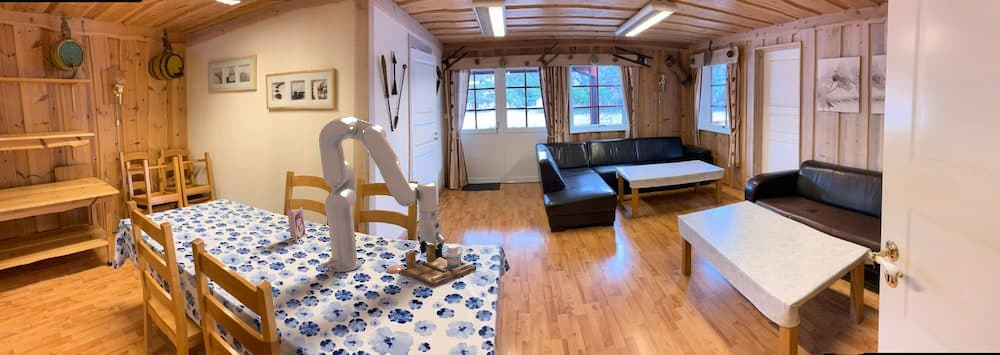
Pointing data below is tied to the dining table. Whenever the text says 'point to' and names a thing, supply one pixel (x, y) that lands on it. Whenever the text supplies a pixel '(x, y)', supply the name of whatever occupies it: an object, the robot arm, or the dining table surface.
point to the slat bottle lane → (441, 260)
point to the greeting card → (296, 224)
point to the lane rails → (438, 274)
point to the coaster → (395, 269)
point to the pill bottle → (453, 257)
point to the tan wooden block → (412, 264)
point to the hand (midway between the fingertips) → (431, 255)
